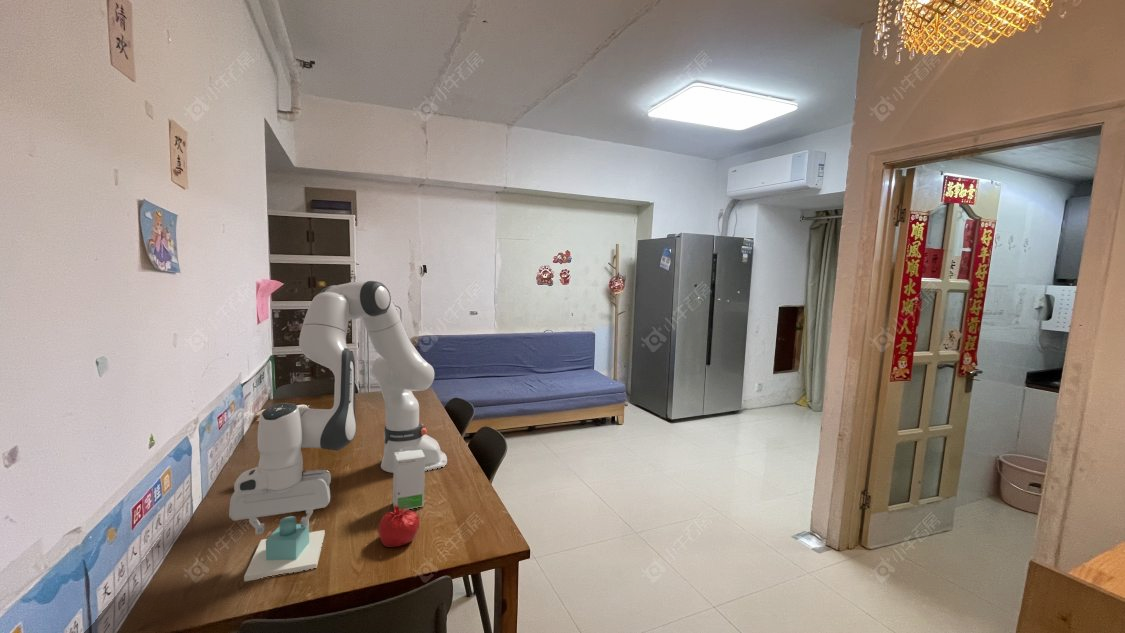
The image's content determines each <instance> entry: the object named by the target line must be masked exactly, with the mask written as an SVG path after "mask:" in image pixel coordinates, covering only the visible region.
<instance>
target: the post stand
mask: <svg viewBox="0 0 1125 633" xmlns="http://www.w3.org/2000/svg"><path fill="white" fill-rule="evenodd" d="M325 531H326V530H325V529H323V530H315V531H309V544H308V545H307V546H306V547H305V549H304V550H303V551H302V553H301V554H300V555H299V557H298V558H297V559H296V560H266V540H267V539H268V538H264V539H260V541H259V543H258V546H257V547H256V550H255V552H254V553H253V554H254V555H253V557H252V559H251V560H250V562H249V565H248V568H247V569H246V571H245V574H244V576H243V579H244V580H243V581H244V582H250V581H255V580H261V579H264V578H263V577H267V576H272V575H278V574H283V573H289V574H293V572H294V573H298V572H299V573H300V572H304V571H303V570H305V571H310V570H309V569H311V570H314V569H313V568H316V569H317V567H318V563H319V559H320V556H321V552H322V548H323V544H324V543H323V542H324V538H325V535H326V532H325ZM322 543H323V544H322ZM321 547H322V548H321ZM283 575H284V574H283ZM278 576H279V575H278ZM272 577H273V576H272ZM260 578H261V579H260ZM267 578H268V577H267Z"/></svg>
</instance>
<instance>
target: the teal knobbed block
mask: <svg viewBox="0 0 1125 633" xmlns="http://www.w3.org/2000/svg"><path fill="white" fill-rule="evenodd" d="M278 523H279V524H278V525H279V526H278V527H277V528H276V529H275V530H274V531H273V532H272V533H271V534H270V535H269V536H268V538H266V539H267V540H266V560H296V559H297V558H298V557H299V555H300V554H301V553H302V551H303V550H304V549H305V547H306V546H307V545H308V544H309V532H310V524H309V525H308V526H307V527H301V523H297V517H296V516H292V515H291V516H290V515H289V516H285V517H283V518H281V519H280V520H279V522H278Z"/></svg>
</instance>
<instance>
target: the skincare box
mask: <svg viewBox="0 0 1125 633" xmlns="http://www.w3.org/2000/svg"><path fill="white" fill-rule="evenodd" d="M425 473H426V471H425V455H424V453H423V451H422V450H413V451H404V452H395V453H394V473H393V477H392V478H393V479H392V480H393V482H392V483H393V484H392V504H393V507H395V506H396V505H397V506H399V510H401V509H402V508H403V507H405V506H407V507H405V508H404V510H407V509H408V510H409V509H412V508H417V507H421V506H424V507H425V481H426V480H425V476H426V475H425ZM417 509H418V508H417ZM412 510H413V509H412Z"/></svg>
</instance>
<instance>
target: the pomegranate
mask: <svg viewBox="0 0 1125 633" xmlns="http://www.w3.org/2000/svg"><path fill="white" fill-rule="evenodd" d="M405 507H407V506H405ZM405 507H403V508H402V509H401V510H399V506H397V505H396V506H395V507H394V506H393V511H389V512H386V513H384V515H383V517H382V518H381V519H380V521H379V523H378V527H377V532H378V536H379V538H380V541H381V543H382V545H383V546H385V547H387V548H388V547H389V548H393V547H400V546H403V545H407V544H409V543H410V542H412V541H413V540H414V539H415V537H416V536H417V533H418V531H419V528H420V516H419V515H418V514H417V513H416V512H415V511H414V510H404V508H405Z"/></svg>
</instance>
